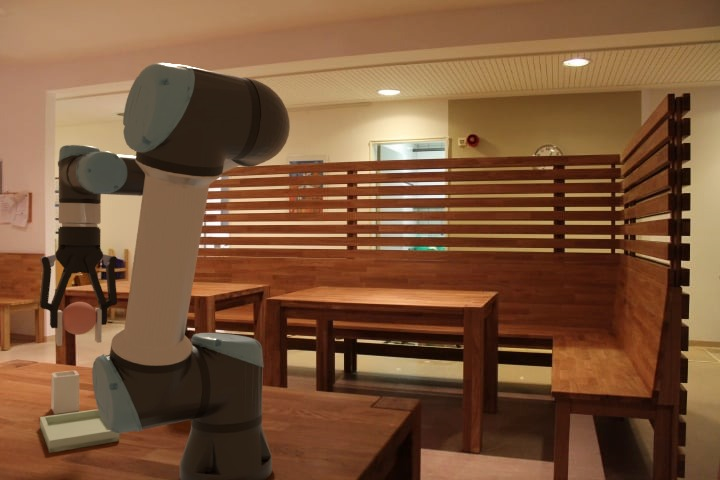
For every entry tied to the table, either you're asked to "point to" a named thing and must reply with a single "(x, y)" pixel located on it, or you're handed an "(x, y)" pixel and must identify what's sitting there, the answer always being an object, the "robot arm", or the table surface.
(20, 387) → the table surface
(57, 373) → the hollow square tube
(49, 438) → the tray
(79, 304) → the ball
